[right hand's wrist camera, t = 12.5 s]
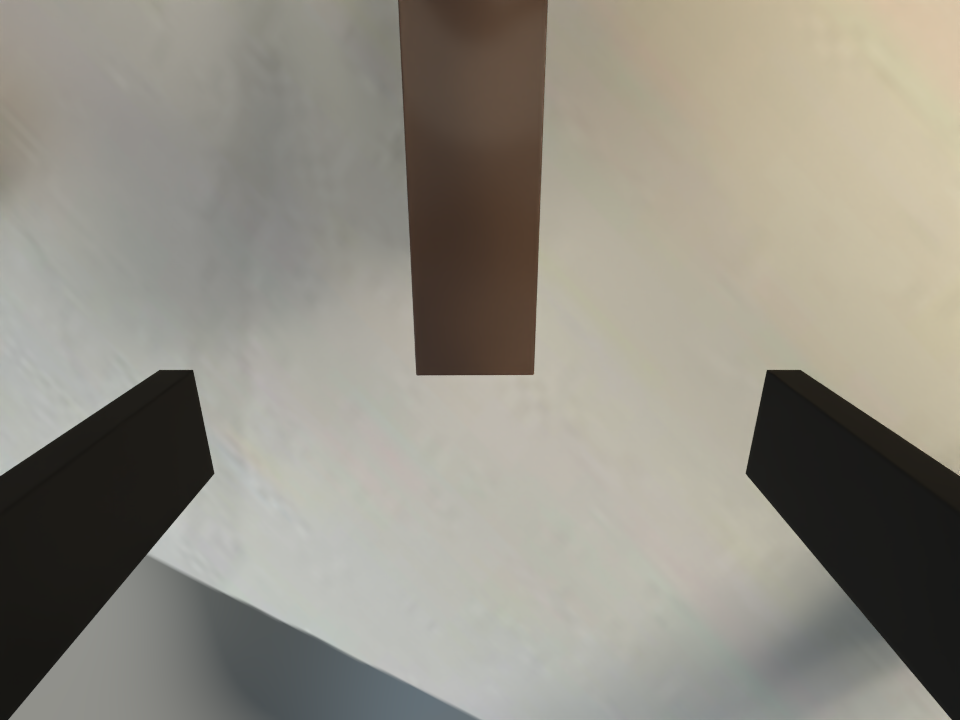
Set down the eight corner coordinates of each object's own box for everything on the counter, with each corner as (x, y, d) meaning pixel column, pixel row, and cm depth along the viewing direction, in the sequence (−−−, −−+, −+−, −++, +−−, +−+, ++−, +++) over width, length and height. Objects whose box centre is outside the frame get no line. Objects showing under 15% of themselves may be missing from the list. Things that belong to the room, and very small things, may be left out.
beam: (534, -309, 20) (569, -589, 12) (519, 317, 28) (533, 375, 21) (410, -309, 20) (369, -590, 12) (432, 317, 28) (416, 375, 21)
